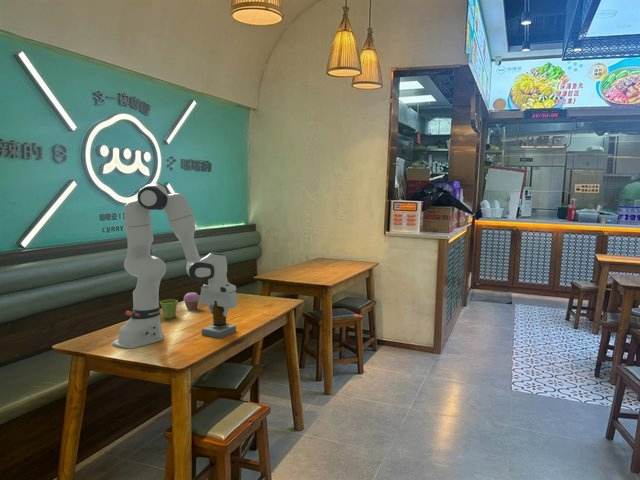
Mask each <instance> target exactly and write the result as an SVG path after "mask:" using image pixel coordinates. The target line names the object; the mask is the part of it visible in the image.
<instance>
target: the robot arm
mask: <svg viewBox="0 0 640 480" xmlns="http://www.w3.org/2000/svg"><path fill="white" fill-rule="evenodd" d="M155 210H156V211H158V210H159V211H161V210H163V211H164V213H165V216H166V218H167V220H168V224H169V225H170V228H171V230H172V233H174V235H175V237H176V238H177V239H178V241H179V243H180V245H181V247H182V250H183V253H184V257H185V266H184V269H185V273H186V274H187V275H188V276H189V277H190V278H191V280H192V281H195V282H204V281H208V284H203V285H202V286H201V287H200V295H199V297H200V299H199V303H200V304H202V305H207V308H208V310H209V313H210V315H213V305H214V304H215V303H214V301H217V306H220V307H224V309H225V310H224V312H222V316H226V317H227V316H228V311H229V309H234V308H236V307H237V306H238V294H237V292H236V291H237V285H234V284H232V283H230V281H228V277H227V274H228V262H227V261H228V260H227V257H226V255H225V254H224V253H221V252H213V251H212V252H209V253H208V254H207V255H205V256H203V257H201V256H200V254H199V251H198V248H197V245H196V242H195V232H196V221H195V217H194V215H193V211H192V208H191V206H190V204H189V202H188V200H187V198H186V197H185V195H183V194H182V193H179V192H176V193H169V190H168V189H167V187H166V186H165V185H163V184H162V183H160V182H153V183H148V184H146V185H144V186H143V187H141V188H140V189H139V190H138V193H137V199H133V200H130V201H128V202H127V203H126V204H125V205H124V215H123V216H124V225H125V226H124V227H125V232H126V239H127V251H126V258H125V259H124V261H123V268H124V270H125V271H126V272H127V273H128V274H129V275H131V276H133V277H136V278H137V281H136V287H135V289H133V291H132V303H133V305H132V306H133V307H132V310H131V311H129V310H126V312H125V315H126V316H129V317H130V318H129V319H128V320H126V322H125V324H123V326H121V328H119V330H118V333H117V335H118V336H117V338H116V339H114V340H113V341H112V345H113V346H115V347H118V348H122V349H124V348H125V349H136V348H139V347H142V346H146V345H150V344H154V343H157V342H161V341H163V340H164V332H163V328H162V323H161V319H160V315H161V305H160V300H159V299H160V298H159V297H160V296H159V295H160V294H159V292H160V291H159V290H160V284H161V280H162V278H163V277H164V276H165V274H166V272H167V265H166V263H165V261H164V260H163V259H161V258H160V257H158V256H155V255H151V248H152V243H153V242H154V239H155V238H154V233H153V224H152V218H151V212H152V211H155Z"/></svg>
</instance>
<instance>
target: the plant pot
mask: <svg viewBox="0 0 640 480" xmlns="http://www.w3.org/2000/svg"><path fill="white" fill-rule="evenodd" d="M178 302H179V300H178V299H164V300H161V301H159V305H160V307H161V311H162V316H163V318H164V319H172V318H174V319H175V318H176V316H177V306H178Z"/></svg>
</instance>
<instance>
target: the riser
mask: <svg viewBox="0 0 640 480" xmlns="http://www.w3.org/2000/svg"><path fill="white" fill-rule="evenodd" d="M236 332H237V326H236V325H233V324H231V325H228V326H223V327H215V326H213V325H211V324H210V325H209V326H206V327H204V328H202V329H201V336H205V337H212V338H214V339H221V338H223V337H227V336H229V335H231V334H234V333H236Z"/></svg>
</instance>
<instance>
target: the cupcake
mask: <svg viewBox="0 0 640 480" xmlns="http://www.w3.org/2000/svg"><path fill="white" fill-rule="evenodd" d="M199 301H200V295H199V294H198V292H187V293H186V294H185V295H184V296H183V302H184V303H185V307H186V309H187V310H190V311H193V310H197V309H198V306H199Z"/></svg>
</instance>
